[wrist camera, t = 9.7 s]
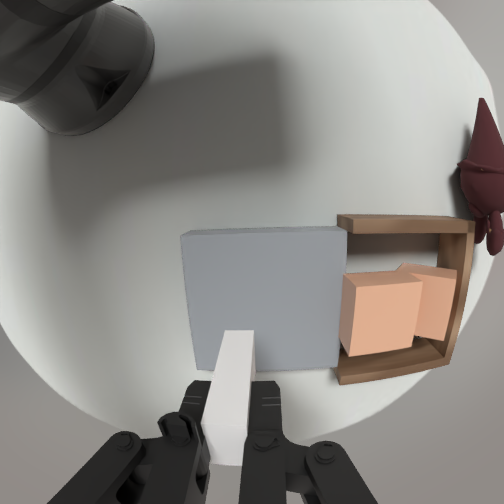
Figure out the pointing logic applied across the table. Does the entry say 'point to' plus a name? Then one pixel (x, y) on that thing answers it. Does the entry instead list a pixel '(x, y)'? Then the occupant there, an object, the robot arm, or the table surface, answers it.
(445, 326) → the tile
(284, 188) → the table surface
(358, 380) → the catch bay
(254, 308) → the board
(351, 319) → the tile
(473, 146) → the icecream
